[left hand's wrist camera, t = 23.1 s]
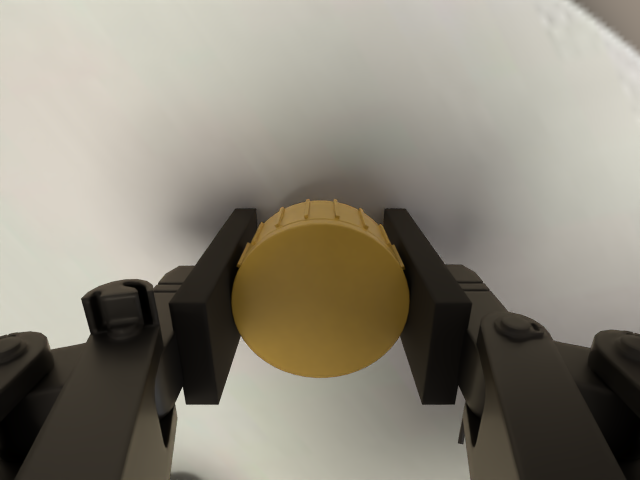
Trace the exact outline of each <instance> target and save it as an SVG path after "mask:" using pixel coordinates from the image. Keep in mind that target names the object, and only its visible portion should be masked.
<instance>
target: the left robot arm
mask: <svg viewBox="0 0 640 480" xmlns="http://www.w3.org/2000/svg"><path fill="white" fill-rule="evenodd" d="M383 227H384V230H385V232H386V234H387V236H388V238H389V241H390V243H391V245H395V247H396V250H397V252H398V254H399V256H400V258H401V260H402V262H403V264H404V266H405V269H404V270H403V272H404V274H405V277H406V279H407V283H408V288H409V295H410V305H409V313H408V317H407V321H406V324H405V326H404V329H403V331H402V333H401V334H400V337H401V341H402V344H403V347H404V350H405V353H406V356H407V359H408V362H409V365H410V368H411V371H412V374H413V378H414V381H415V384H416V387H417V390H418V393H419V396H420V399H421V402H422V405H455V400H456V395H457V389H458V385H459V387H460V389H461V392H462V394H463V396H464V398H465V400H466V401H465V407H464V412H463V417H462V423H461V428H460V433H459V439H458V443H459V444H463V442H464V437H465V440H466V448H467V456H468V463H469V471H470V479H471V480H640V334H637V333H635V334H634V333H633V332H629V331H619V330H606V331H600V332H599V333H598V334H596V335H595V337H594V340H593V343H592V346H591V348H588V347H582V346H577V345H572V344H566V343H561V342H557V341H553V339H552V337H551V336H550V334H549V332H548V331H547V330H546V329H545V328H544V327H543V326H542V325H541V324H539V323H538V322H536V321H534V320H533V319H530V318H528V317H525V316H523V315H520V314H516V313H511V312H508V311H507V310H506V308H505V307H504V306H503V305H502V304H501V303H500V301H499V300H498V299H497V298H496V297H495V295H494V294H493V293H492V292H491V291H489V288H488V287H487V286H486V285H485V284H483V281H482V280H481V279H480V278H479V276H478V275H477V274H476V273H475V272H473V271H472V270H470V269H468V268H467V267H465V266H463V265H445V264H444V262H443V261H442V260H441V258H440V257H439V255H438V254H437V253H436V251H435V250H434V248H433V247H432V246H431V244H430V243H429V241H428V240H427V239H426V237H425V236H424V234H423V233H422V232H421V230H420V229H419V227H418V226H417V224H416V223H415V222H414V220H413V219H412V217H411V216H410V215H409V213H408V212H407V210H406V209H385V211H384V226H383ZM256 231H257V214H256V209H235V210H234V211H233V213H232V214H231V216H230V217H229V219H228V220H227V221H226V223H225V224H224V226H223V227H222V228H221V230H220V231H219V233H218V234H217V235H216V237H215V238H214V240H213V241H212V243H211V244H210V245H209V247H208V248H207V250H206V251H205V252H204V254H203V255H202V257H201V258H200V259H199V261H198V262H197V264H196V265H195V266H178V267H177V268H175V269H173V270H171V271H170V272H168V273H166V274H165V275H164V277H163V278H162V279H161V280H160V281H159V283H158V285H156V286H155V287H154V289H153V285H152V284H150V283H149V282H148V281H144V280H139V279H125V280H119V281H114V282H110V283H107V284H104V285H101V286H98V287H97V288H95V289H93V290H91V291H89V292H88V293H87V294H85V295H84V296H83V297H82V298H81V300H82V304H83V307H84V311H85V315H86V318H87V322H88V326H89V329H90V333H91V334H90V336H89V338H88V340H87V342H86V343H83V344H78V345H73V346H68V347H62V348H57V349H52V350H51V349H50V346H49V343H48V340H47V337H46V336H44V335H43V334H42V333H38V332H31V331H29V332H20V333H18V332H17V333H11V334H9V335H4V336H0V480H170V472H171V464H172V456H173V449H174V441H175V433H176V425H177V412H176V407H175V402H176V400H177V398H178V395H179V393H180V391H181V389H182V387H183V390H184V396H185V402H186V405H219V402H220V398H221V395H222V392H223V389H224V386H225V383H226V380H227V377H228V374H229V371H230V368H231V364H232V361H233V358H234V355H235V352H236V349H237V346H238V343H239V340H240V337H241V335H240V333H239V331H238V329H237V326H236V324H235V321H234V317H233V314H232V306H231V292H232V287H233V282H234V279H235V277H236V274H237V271H238V269H239V268H238V267H236V266H237V264H238V262H239V260H240V258H241V255H242V253H243V251H244V249H245V247H246V245H247V243H251V241H252V239H253V237H254V235H255V233H256Z"/></svg>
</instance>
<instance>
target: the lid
mask: <svg viewBox="0 0 640 480" xmlns="http://www.w3.org/2000/svg"><path fill="white" fill-rule="evenodd" d="M236 267H238V268H239V269H238V271H237V274H236V277H235V279H234V282H233V287H232V292H231V306H232V314H233V317H234V321H235V324H236V326H237V329H238V331H239V333H240V335H241V336H242V338H243V340H244V341H245V342H246V344H247V345H248V346H249V347H250V349H251V350H252V351H253V352H254V353H256V354H257V355H258V356H259V357H260V358H262V359H263V360H264V361H265V362H267V363H269V364H270V365H272V366H274V367H276V368H278V369H280V370H283V371H285V372H288V373H291V374H294V375H299V376H304V377H313V378H328V377H337V376H342V375H346V374H350V373H353V372H356V371H358V370H361V369H363V368H365V367H367V366H369V365H370V364H372V363H374V362H375V361H377V360H378V359H379V358H381V357H382V356H383V355H384V354H385V353H386V352H387V351H388V350H389V349H390V348H391V347H392V346H393V345H394V344H395V342H396V341H397V340H398V338H399V336H400V334H401V333H402V331H403V329H404V326H405V324H406V321H407V317H408V313H409V305H410V295H409V288H408V283H407V279H406V277H405V274H404V272H403V270H404V269H405V266H404V264H403V262H402V260H401V258H400V256H399V254H398V252H397V250H396V247H395V245H391V243H390V241H389V238H388V236H387V234H386V232H385V230H384V227H383V225H382V224H379V225H378V224H377V223H376V222H375V221H374V220H373V219H372V218H370V217H369V216H368V215H366V214H365V213H364V211H363V209H361V208H359V210H358V209H356V208H354V207H351V206H349V205H346V204H343V203H339V202H338V201H337V200H336V199H334V200H333V201H325V200H321V201H310V199H306V202H302V203H298V204H295V205H292V206H289V207H287V208H285V209H284V207H281V208H280V210H279V212H278V213H276V214H274V215H273V216H272V217H270V218H269V219H268V220H267V221H266V222H265V223H263V222H261V223H260V224H259V226H258V229H257V231H256V233H255V235H254V237H253V239H252V241H251V243H247V245H246V247H245V249H244V251H243V253H242V255H241V258H240V260H239V262H238V264H237V266H236Z"/></svg>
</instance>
